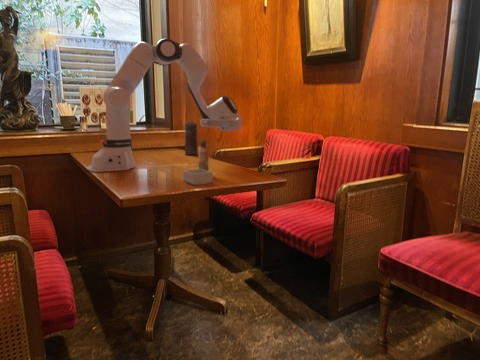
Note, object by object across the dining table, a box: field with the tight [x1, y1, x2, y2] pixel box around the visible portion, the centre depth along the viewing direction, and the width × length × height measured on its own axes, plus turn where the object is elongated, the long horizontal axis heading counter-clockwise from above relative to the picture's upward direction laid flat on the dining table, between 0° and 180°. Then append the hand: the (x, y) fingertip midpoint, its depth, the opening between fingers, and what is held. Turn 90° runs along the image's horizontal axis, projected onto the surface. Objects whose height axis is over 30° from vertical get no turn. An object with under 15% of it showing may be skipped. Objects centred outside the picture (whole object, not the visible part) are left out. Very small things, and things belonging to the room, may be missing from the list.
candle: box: [184, 121, 198, 156], centre depth 226 cm, size 8×7×20 cm
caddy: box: [182, 168, 214, 186], centre depth 154 cm, size 9×9×4 cm
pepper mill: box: [198, 139, 209, 171], centre depth 167 cm, size 4×4×16 cm
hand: (214, 124), depth 175 cm, fingers open, 8 cm apart
